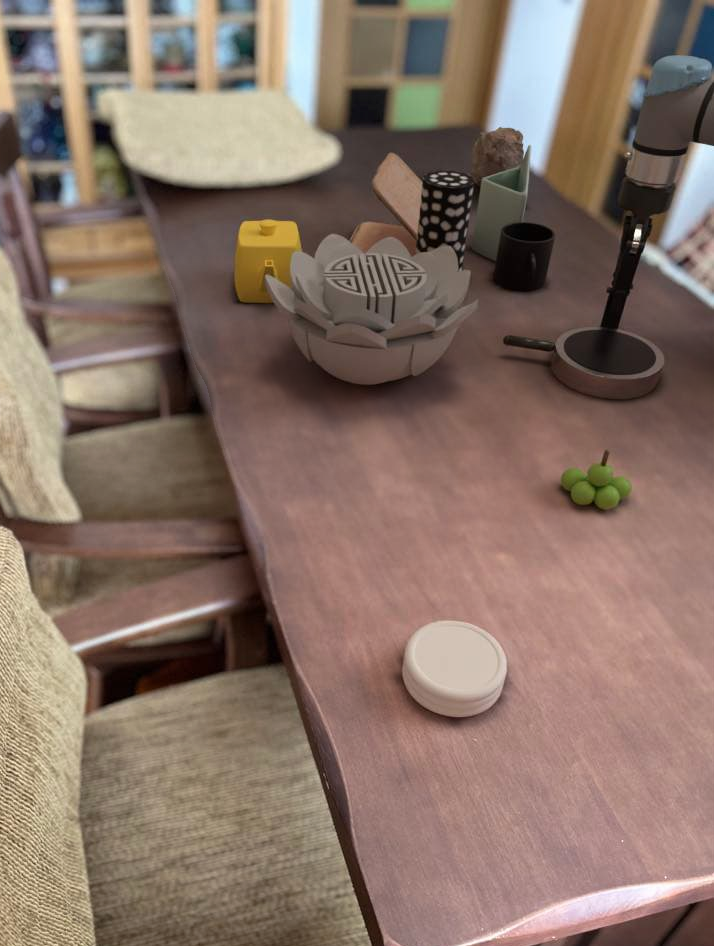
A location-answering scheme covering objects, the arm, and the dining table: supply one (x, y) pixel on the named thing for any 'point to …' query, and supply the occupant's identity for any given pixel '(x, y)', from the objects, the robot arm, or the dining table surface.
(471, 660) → the round cream tin
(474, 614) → the dining table surface
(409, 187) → the case
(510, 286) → the mug
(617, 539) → the dining table surface
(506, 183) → the green magazine holder
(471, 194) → the spotted tube
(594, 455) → the dining table surface
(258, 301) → the teapot
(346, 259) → the decorative bowl
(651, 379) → the pan
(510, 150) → the stone
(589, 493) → the grapes
